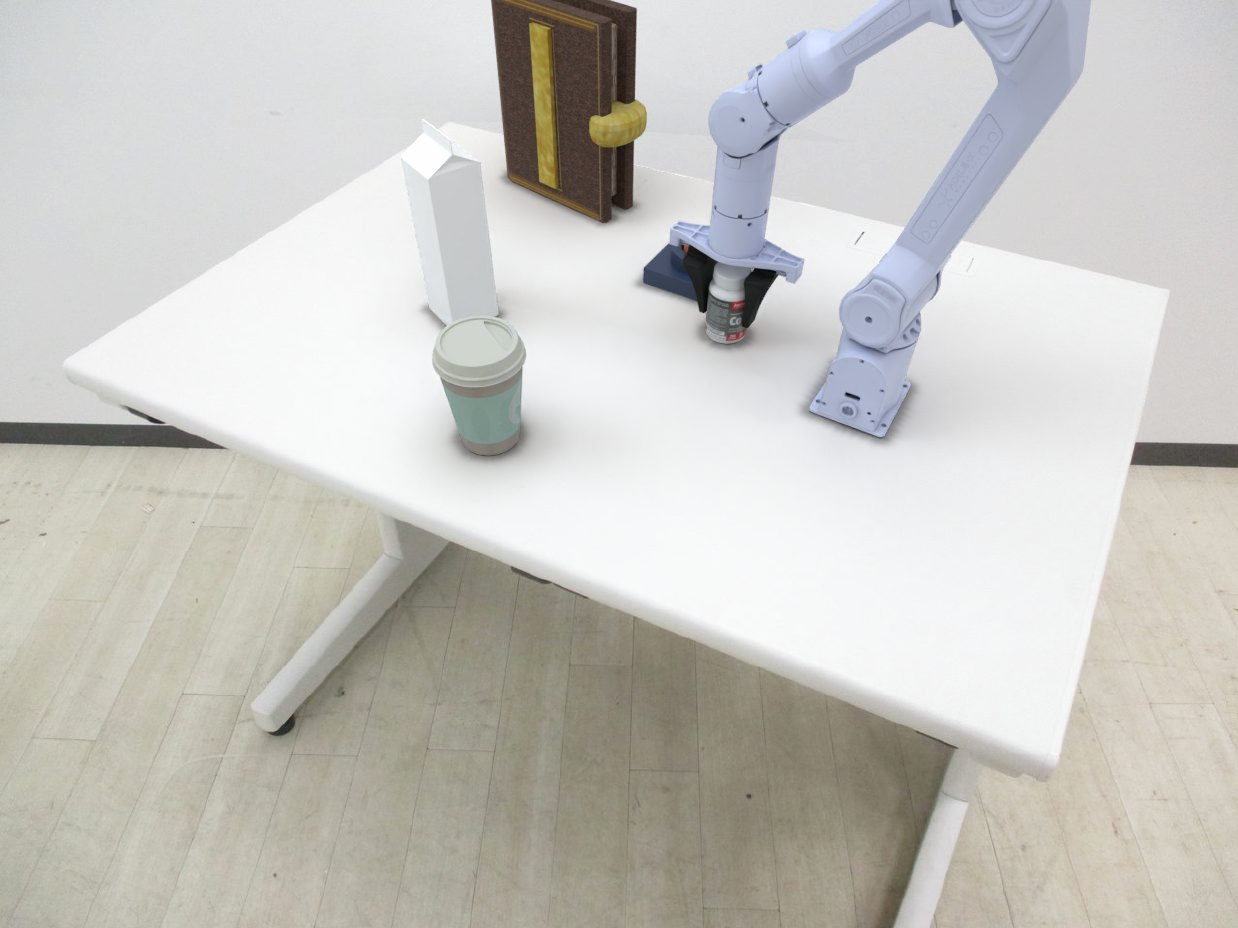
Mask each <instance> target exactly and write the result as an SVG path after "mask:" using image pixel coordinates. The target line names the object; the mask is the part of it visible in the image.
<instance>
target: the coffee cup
mask: <svg viewBox="0 0 1238 928" xmlns="http://www.w3.org/2000/svg"><path fill="white" fill-rule="evenodd" d="M434 343H435V344H434V347H433V349H432V354H431V355H432V359H431V364H432V368H433V370H434V371H435V373H436V374H437V375H438V376H439V378H440V381H441V385H442V387H443V390H444V393H445V397H446V400H447V402H448V404H449V407H450V411H451V413H452V415H453V419H454V422H455V425H456V427H457V430H458V433H459V436H460V438H461V442H462V444H463V445H464V447H465V448H466V450H468V451H470V452H471V453H474V454H476V455H478V456H479V455H480V456H497V455H500V454H503V453H505V452H508V451H510V450H511V449H512V448H513V447H514V446H516V444H517V443H518V442H519V439H520V436H521V422H522V421H521V419H522V418H521V417H522V396H523V394H522V393H523V371H524V364H525V362H526V360H527V349H526V346H525V343H524V340H523V339H522V337H521V336H520V335H519V333H518V331H517V329H516V328H515V326H514V325H512V324H511V323H510V322H508V321H506V320H505V319H502V318H500V317H498V316H495V317H492V316H470V317H465V318H462V319H459V320H456V321H454V322H452V323H450V324H449V325H447V326H446V325H445V327H443V328H442V329H441V330H440V331H439V333H438V334H437V336H436V338H435V342H434Z"/></svg>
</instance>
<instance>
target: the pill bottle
mask: <svg viewBox="0 0 1238 928" xmlns="http://www.w3.org/2000/svg"><path fill="white" fill-rule="evenodd" d="M751 272H752V268H751V267H742V266H732V265H727V264H723V263H720V262H718V263H716V265H715V267H714V272H713V279H712V280H711V282H710V285H709V291H708V301H707V311H706V312H705V323H704V331H705V334H706V335H707V337H708V338H710V339H711V340H713V341H714V342H716V343H720V344H725V345H727V344H729V345H731V344H735V343H738V342H740V341H742V340H743V339H744V338H745V337H746V335H747V331H748V328H744V327H742V318H743V312H744V307H745V289H744V280H745V279H746V278H747V277H748V275H749V274H750V273H751Z"/></svg>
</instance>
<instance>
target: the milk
mask: <svg viewBox="0 0 1238 928" xmlns="http://www.w3.org/2000/svg"><path fill="white" fill-rule="evenodd" d="M421 127H422V133H421V134H420V135H419V136H418V137H417V138H416V139H415V140H414V141H413V142H412V143H411V144H410V146H408V148H407V149H406V150H405V151H403V153H402V154H401V156H400V161H401V166H402V167H401V168H402V172H403V177H404V182H405V187H406V188H405V189H406V193H407V197H408V198H407V199H408V202H409V209H410V213H411V214H410V215H411V218H412V224H413V229H414V234H415V235H414V236H415V239H416V245H417V251H418V256H419V261H420V265H421V266H420V267H421V272H422V276H423V282H424V287H425V292H426V298H427V303H428V308H429V310H430V311H431V312H432V313H433V314H434V315H435V316H436V317H437V318H438V319H439V320H440V321H441V322H442V323H443V324H444V325H445V327H446V326H447V325H449V324H450V323H452V322H454V321H456V320H459V319H462V318H465V317H470V316H492V317H498V316H499V315H500V314H499V306H498V298H497V297H498V296H497V289H496V280H495V271H494V264H493V256H492V255H493V254H492V247H491V239H490V229H489V223H488V221H489V220H488V214H487V205H486V198H485V190H484V181H483V172H482V165H481V161H480V160H478V159H477V158H475V157H474V156H473V155H471V154H470V153H469V152H467V151H466V150H465V149H464V148H462V147H460V146H459V145H458V144H457V143H456V142H454V141H453V140H451V139H450V137H449V136H447V135H446V134H444V133H443V132H441V131H440V130H439V129H438V128H436V127H435V125H433V124H431V123H430V122H429V121H427V120H426V119H424V118H421Z"/></svg>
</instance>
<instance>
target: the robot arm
mask: <svg viewBox="0 0 1238 928" xmlns="http://www.w3.org/2000/svg"><path fill="white" fill-rule="evenodd" d="M1091 2H1092V0H878V1H877V2H875V3H874V4H873V5H872V6H870V7H869V8H868V9H866V10H865V11H864V12H863V13H861V14H860V15H859V16H857V17H856V18H855V19H853V20H852V21H850V23H848V24H846V25H845V26H844V27H843V28H842V29H840V30H838V31H835V30H830V29H827V28H822V27H818V28H814V29H812V30H810V31H809V32H806V29H804V28H802V29H801V30H799V31H798V32H796V33H794V34H793V35H791V36H790V37H789V38H787V39H786V40H785V45H786V47H787V48H786V49H785V50H783V51H782V52H780V53H779V54H778V55H777V56H775V57H774V58H772V59H771V60H770V61H768V62H767V63H765V64H764V65H763V63H761V62H759V63H757V64H756V65H754V66H752V67H751V68H750V69H749V70H747V73H746V74H747V77H748V78H747V79H746V80H744V81H743V82H741V83H739V84H737V85H735V86H734V87H733V88H730V89H727V90H725V91H722V92H721V93H720V94H719V96H718V98H717V99H716V100H715V101H714V102H713V103H712V105H711V106H710V110H709V111H708V117H707V120H708V122H707V124H708V130H709V133H710V136H711V138H712V140H713V142H714V144H715V145H716V158H715V168H714V178H713V189H712V199H711V200H712V201H711V209H710V210H711V211H710V222H709V224H701V223H691V222H687V221H682V220H677V221H676V222H675V223H674V224H673V225H672V226H671V227H670V229H669V241H668V243H669V244H671V245H674V246H679V245H680V244H682V245H685V246H688V251H687V255H686V256H685V257H684V258H683V267H684V269H685V270H686V272H687V273H688V275H689V277H690V279H691V281H692V284H693V287H694V290H695V293H696V297H697V301H696V302H697V306H698V312H699V313H701V314H706V312H707V301H708V291H709V285H710V282H711V280H712V279H713V272H714V267H715V265H716V263H718V262H720V263H723V264H727V265H732V266H742V267H751V269H753V270H751V273H750V274H749V275H748V277H747V278H746V279H745V280H744V289H745V307H744V312H743V318H742V327H744V328H747V329H749V328H750V326H751V325H752V324H753V323H754V322H755V321H756V317H757V314H758V312H759V309H760V307H761V304H762V303H763V301H764V299H765V297H766V296H767V293H768V291H769V290H770V289H771V287H772V285H773V284H774V282H775V281H776V279H777V278H778V277H779V276H780V277H784V278H785V282H787V283H789V284H793V285H794V284H796V283H797V282H798V280H799V279H800V278H801V276H802V275H803V270H804V266H805V265H804V264H805V258H802V257H800V256H797V255H795V254H792V253H791V252H789V251H787V250H786V249H783V248H782V247H780V246H778V245H777V244H775V243H774V242H771V241H770V240H768V239H766V232H767V225H768V219H769V212H770V204H771V197H772V192H773V191H772V190H773V184H774V177H775V170H776V163H777V157H778V156H777V155H778V150H779V143H780V139H781V137H782V135H783V134H784V133H785V132H786V131H788V129H790V128H792V127H794V126H795V125H797V124H798V123H800V122H801V121H803V120H805V119H806V118H808V117H809V116H811V115H813V114H814V113H817V111H819V110H821V109H822V108H824V107H825V106H827V105H829V104H830V103H832V102H833V101H835V100H836V99H838V98H839V97H841V96H842V95H844V94H846V93H847V92H848V91H849V90H850V88H851V87H852V83H853V80H854V75H855V71H856V67H857V66H859V65H861V64H863V63H864V62H866V61H867V60H869V59H870V58H872V57H874V56H875V55H877V54H878V53H880V52H881V51H882V52H883V50H885V49H887V48H888V47H889V46H891V45H893V44H895V43H896V42H898V41H900V40H901V39H903V38H904V37H906V36H908V35H909V34H911V33H912V32H914V31H916V30H917V29H919V28H921V27H922V26H925V25H926V24H928V23H933V24H935V25H939V26H942V27H945V28H949V29H953V28H955V27H957V26H958V25H959V24H961V23H962V22H963V23H964V24H965V25H966V27H967V28H968V29H969V31H970V32H971V33H972V35H973V37H974V38H975V39H976V41H977V42H978V43H979V45H980V47H982V49H983V50H984V52H985V53H986V54H987V55H988V57H989V58H990V60H991V64H992V67H993V69H994V73H995V76H996V79H997V84H996V86H995V89H994V90H993V92H992V93H991V94H990V96H989V97H988V99H987V101H986V102H985V104H984V106H983V107H982V108H981V110H980V112H979V113H978V115H977V116H976V117H975V119H974V121H973V122H972V124H971V125H970V127H969V128H968V130H967V132H966V133H965V134H964V136H963V138H962V139H961V141H960V142H959V143H958V145H957V147H956V148H955V150H954V151H953V153H952V154H951V156H950V158H949V159H948V161H947V162H946V163H945V165H944V167H943V168H942V170H941V171H940V173H939V175H938V176H937V178H936V179H935V181H934V183H933V184H932V185H931V187H930V188H929V190H928V192H927V193H926V195H925V196H924V198H923V199H922V200H921V202H920V203H919V205H918V206H917V208H916V210H915V211H914V213H913V214H912V216H911V217H910V219H909V220H908V222H907V223H906V225H905V227H904V228H903V230H902V231H901V233H900V234H899V236H898V238H897V239H896V240H895V242H894V243H893V244H892V246H891V247H890V249H888V251H887V252H886V253H885V254H884V255H883V257H882V258H881V259H880V260H879V262H878V264H876V265H875V266H874V268H873V269H871V270H870V272H869V273H867V275H866V276H865V277H863V278H862V279H861V281H860V282H859V283H858V284H857V285H856V286H855V287H854V288H852V289H849V290H848V291H847V292H846V294H845V295H844V296H843V297H842V299H841V300H840V303H839V308H838V317H839V321H840V323H841V326H842V330H841V334H840V338H839V343H838V347H837V351H836V354H835V357H834V358H833V360H832V361H831V363H830V365H829V367H828V370H827V372H826V373H827V374H826V378H825V382H824V383H823V385H822V386H821V387H820V389H819V391H818V392H817V394H816V395H815V397H814V398H813V400H812V402H811V404H810V405H809V409H808V410H809V411H810V412H811V413H813V414H815V415H818V416H821V417H824V418H826V419H830V420H832V421H835V422H837V423H840V424H842V425H845V426H847V427H851V428H853V429H856V430H859V431H862V432H864V433H867V434H870V435H873V436H875V437H878V438H884V437H885V435H886V433H887V432H888V430H889V428H890V426H891V425H892V423H893V420H894V419H895V417H896V415H897V413H898V412H899V410H900V407H901V406H902V404H903V402H904V400H905V398H906V396H907V394H908V392H909V391H910V389H911V386H912V383H911V382H910V381H909V380H906V377H907V373H908V371H909V368H910V364H911V362H912V360H913V356H914V353H915V350H916V347H917V344H918V341H919V337H920V335H921V332H922V315H921V311H922V310H923V309H924V307H925V306H926V305H927V304H928V303H929V302H930V301H932V300H933V299H934V298H935V296H937V294H938V292H939V291H940V288H941V284H942V275H943V271H944V269H945V267H946V265H947V263H948V262H949V261H950V260H951V258H952V254H953V253H954V251H955V250H956V248H957V247H958V245H959V244H960V243H961V241H962V240H963V239H964V237H966V235H967V233H968V232H969V230H970V229H971V228H972V226H973V225H974V224H975V223H976V221H977V220H978V218H979V217H980V216H981V214H982V213H983V211H984V210H985V209H986V207H987V206H988V205H989V204H990V202H991V201H992V199H993V198H994V197H995V195H996V194H997V192H998V191H999V190H1000V188H1001V187H1002V186H1003V184H1004V183H1005V182H1006V181H1007V179H1008V177H1009V176H1010V175H1011V173H1012V172H1013V170H1015V168H1016V166H1018V164H1019V162H1020V161H1021V160H1022V159H1023V157H1024V156H1025V154H1026V153H1027V151H1028V150H1029V149H1030V148H1031V146H1032V145H1033V143H1034V142H1035V140H1037V138H1038V137H1039V135H1040V133H1041V132H1042V131H1043V129H1045V127H1046V125H1047V124H1048V122H1050V120H1051V119H1052V117H1053V116H1054V115H1055V113H1056V112H1057V111H1058V109H1059V108H1060V107H1061V105H1062V104H1063V102H1064V101H1065V100H1066V98H1067V97H1068V96H1069V94H1070V93H1071V91H1072V90H1073V89H1074V87H1075V86H1076V85H1077V83H1078V81H1079V79H1080V78H1081V75H1082V73H1083V72H1084V71H1083V70H1084V66H1085V59H1086V48H1087V41H1088V33H1089V22H1090V15H1091V14H1090V13H1091V12H1090V11H1091V5H1092V3H1091Z"/></svg>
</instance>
